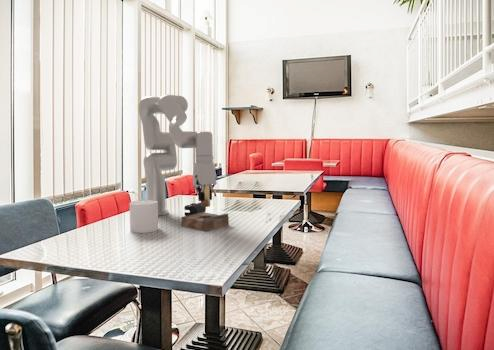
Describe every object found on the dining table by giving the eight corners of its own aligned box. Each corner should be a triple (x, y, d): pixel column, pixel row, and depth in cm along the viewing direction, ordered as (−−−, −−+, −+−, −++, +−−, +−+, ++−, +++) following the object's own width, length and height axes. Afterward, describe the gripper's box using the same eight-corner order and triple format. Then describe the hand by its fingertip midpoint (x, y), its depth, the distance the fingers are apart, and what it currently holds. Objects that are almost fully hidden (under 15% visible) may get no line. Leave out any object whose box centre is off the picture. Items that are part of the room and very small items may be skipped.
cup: (163, 227, 169) (162, 201, 168) (148, 234, 158) (147, 205, 157) (140, 225, 173) (140, 199, 172) (124, 231, 162) (123, 203, 161)
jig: (181, 225, 173) (181, 214, 172) (203, 220, 183) (203, 209, 183) (206, 231, 163) (206, 219, 162) (228, 225, 173) (228, 214, 173)
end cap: (197, 219, 186) (196, 206, 185) (184, 218, 188) (183, 205, 187) (206, 215, 195) (206, 202, 194) (193, 214, 197) (193, 201, 197)
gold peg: (199, 206, 171) (198, 184, 170) (205, 204, 174) (205, 183, 174) (205, 207, 169) (204, 184, 168) (211, 205, 172) (211, 183, 171)
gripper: (211, 158, 179) (212, 197, 180) (184, 160, 166) (185, 202, 167) (223, 158, 174) (224, 198, 176) (196, 160, 161) (197, 203, 163)
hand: (205, 199), depth 171 cm, fingers closed on gold peg, 4 cm apart
